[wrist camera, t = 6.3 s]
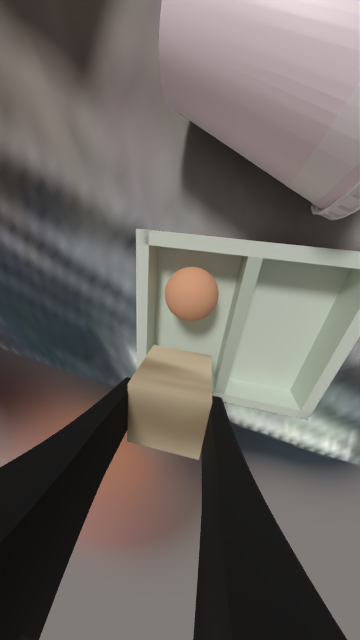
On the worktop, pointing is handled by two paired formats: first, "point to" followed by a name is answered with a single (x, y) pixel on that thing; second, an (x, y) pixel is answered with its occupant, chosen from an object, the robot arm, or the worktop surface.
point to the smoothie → (273, 87)
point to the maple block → (170, 401)
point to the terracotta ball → (191, 293)
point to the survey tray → (255, 315)
